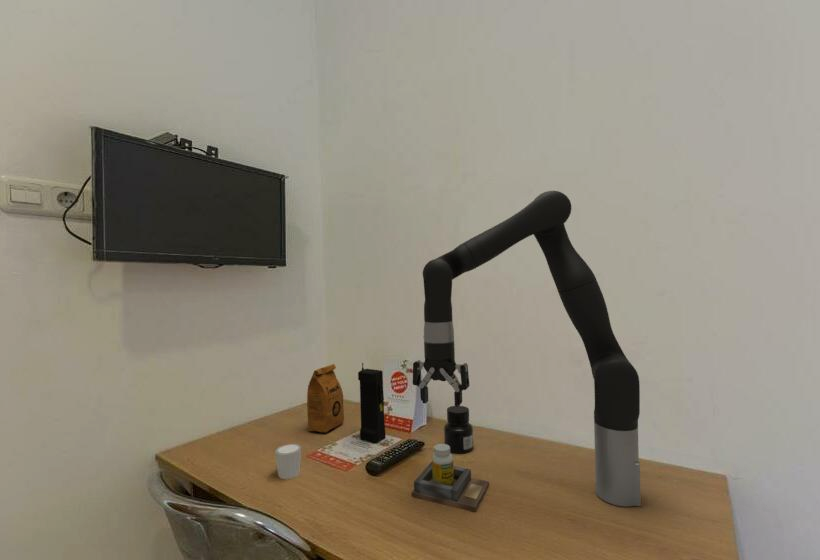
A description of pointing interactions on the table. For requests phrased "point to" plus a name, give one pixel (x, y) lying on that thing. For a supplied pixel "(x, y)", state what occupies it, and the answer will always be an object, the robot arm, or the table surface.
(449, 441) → the ink bottle
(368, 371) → the portable radio
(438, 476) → the supplement bottle
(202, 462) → the table surface
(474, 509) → the socket stand
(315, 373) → the coffee package
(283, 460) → the white tapered cylinder
